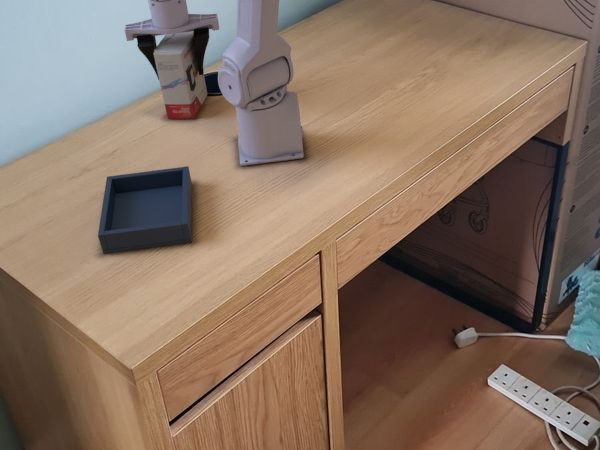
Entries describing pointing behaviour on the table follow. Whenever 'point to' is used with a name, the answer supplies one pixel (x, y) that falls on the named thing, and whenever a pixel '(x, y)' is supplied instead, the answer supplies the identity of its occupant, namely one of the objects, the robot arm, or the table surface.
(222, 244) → the table surface
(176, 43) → the ink box
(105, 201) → the dark blue tray
